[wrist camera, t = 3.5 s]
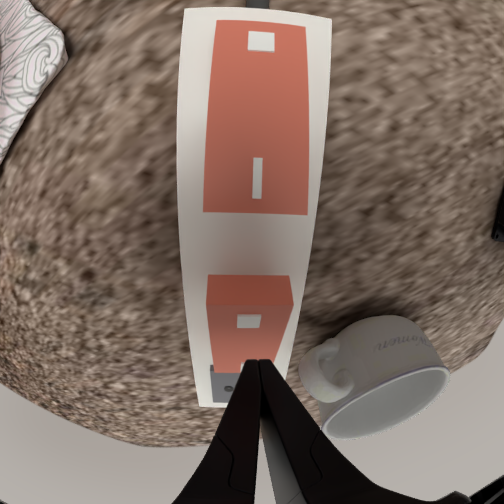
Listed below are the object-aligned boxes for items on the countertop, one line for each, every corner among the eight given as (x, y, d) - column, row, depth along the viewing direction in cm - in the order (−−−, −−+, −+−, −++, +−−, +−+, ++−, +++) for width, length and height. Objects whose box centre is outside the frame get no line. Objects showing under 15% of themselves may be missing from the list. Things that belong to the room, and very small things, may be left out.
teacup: (423, 331, 24) (460, 388, 17) (342, 390, 27) (362, 451, 20) (360, 249, 19) (417, 322, 12) (252, 338, 22) (260, 424, 15)
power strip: (315, -37, 9) (334, -65, 6) (274, 380, 25) (280, 414, 21) (202, -45, 9) (196, -77, 5) (201, 380, 24) (198, 415, 21)
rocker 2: (289, 275, 12) (294, 307, 11) (268, 350, 18) (270, 373, 17) (208, 274, 12) (205, 306, 11) (214, 350, 18) (214, 374, 17)
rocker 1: (297, 44, 10) (306, 25, 8) (296, 214, 11) (308, 215, 9) (217, 39, 10) (216, 18, 8) (206, 211, 11) (202, 212, 9)
